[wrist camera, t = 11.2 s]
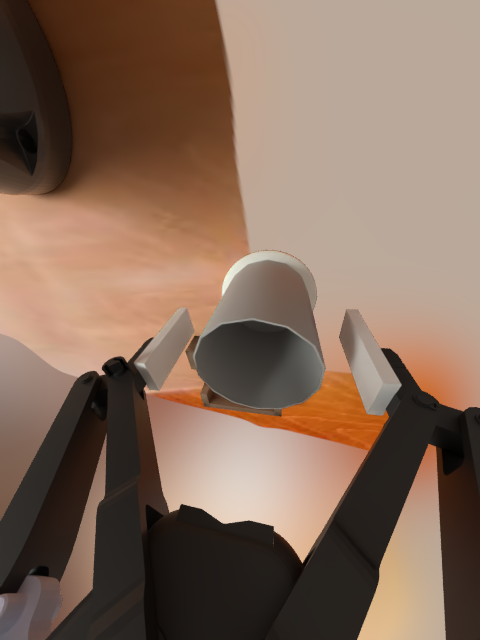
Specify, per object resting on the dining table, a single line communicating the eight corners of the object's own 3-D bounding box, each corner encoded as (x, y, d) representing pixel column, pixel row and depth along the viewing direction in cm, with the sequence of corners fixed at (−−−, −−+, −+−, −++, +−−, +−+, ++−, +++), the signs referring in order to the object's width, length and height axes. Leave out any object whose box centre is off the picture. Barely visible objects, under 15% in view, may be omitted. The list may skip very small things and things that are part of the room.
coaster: (216, 252, 19) (214, 253, 19) (323, 247, 17) (323, 248, 17) (228, 331, 24) (228, 333, 24) (310, 335, 22) (310, 337, 22)
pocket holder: (194, 336, 26) (185, 351, 24) (284, 340, 24) (284, 358, 21) (210, 390, 33) (204, 406, 30) (281, 398, 30) (281, 416, 28)
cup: (303, 250, 17) (320, 308, 9) (311, 324, 21) (329, 409, 13) (217, 271, 20) (171, 329, 12) (240, 333, 24) (218, 408, 16)
